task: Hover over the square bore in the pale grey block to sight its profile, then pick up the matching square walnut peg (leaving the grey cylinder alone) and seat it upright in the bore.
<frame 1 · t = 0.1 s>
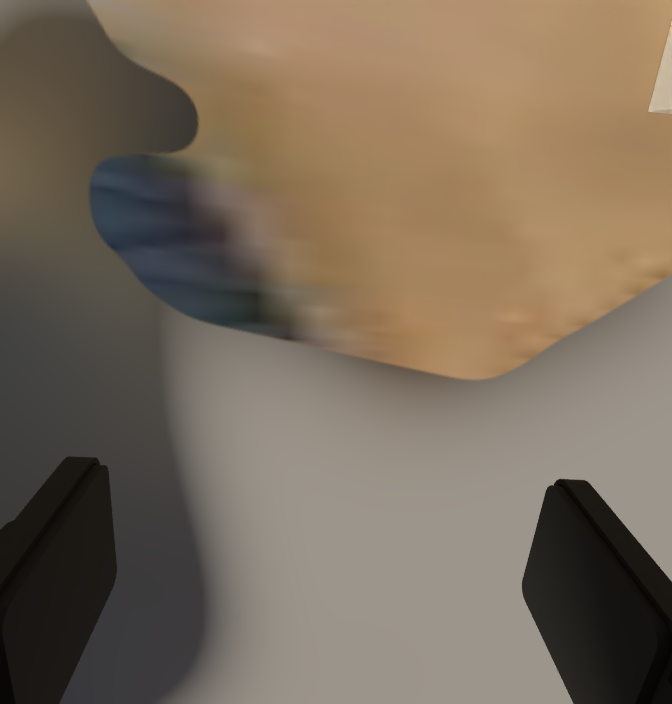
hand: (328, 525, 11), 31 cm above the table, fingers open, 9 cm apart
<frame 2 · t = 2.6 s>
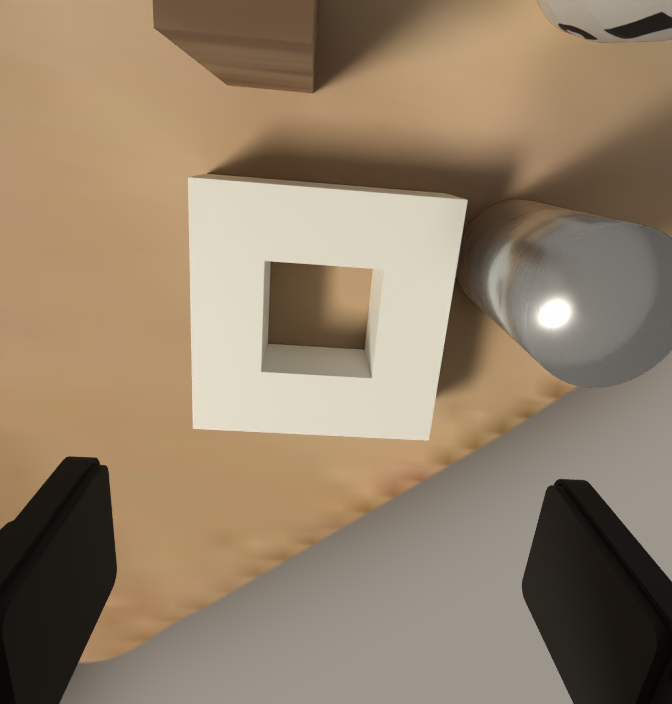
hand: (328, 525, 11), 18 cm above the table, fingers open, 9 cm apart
walnut peg: (272, 40, 24), on the table
bore block: (319, 299, 28), on the table
grey cylinder: (511, 257, 28), on the table
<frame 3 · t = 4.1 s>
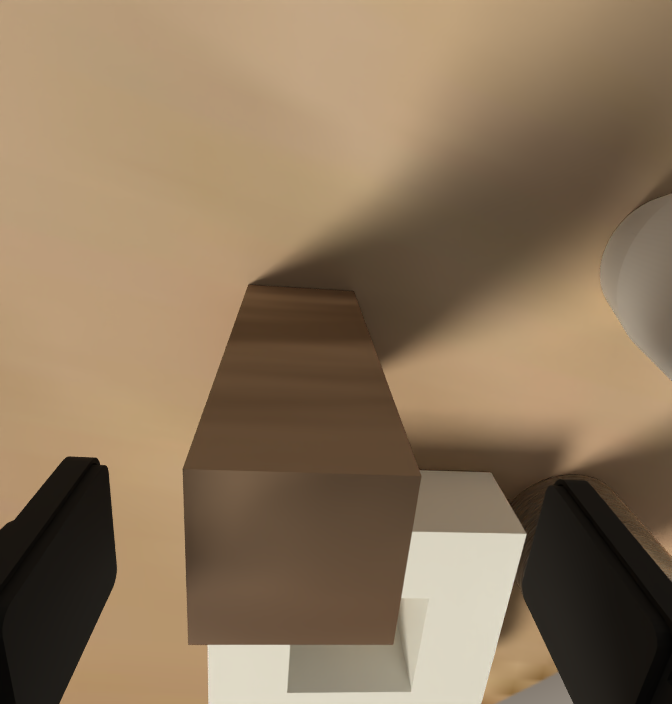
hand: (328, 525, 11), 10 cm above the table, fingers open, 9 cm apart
cup: (659, 259, 21), on the table
walnut peg: (298, 337, 21), on the table
bore block: (347, 573, 25), on the table
grey cylinder: (559, 527, 25), on the table
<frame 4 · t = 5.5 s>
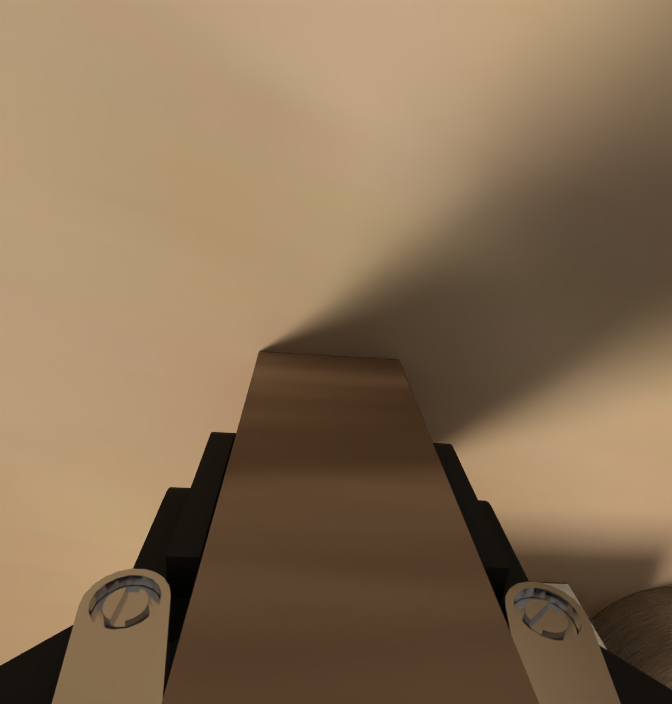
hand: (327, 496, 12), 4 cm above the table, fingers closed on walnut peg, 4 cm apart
walnut peg: (324, 417, 16), on the table, touching gripper
grey cylinder: (651, 648, 20), on the table
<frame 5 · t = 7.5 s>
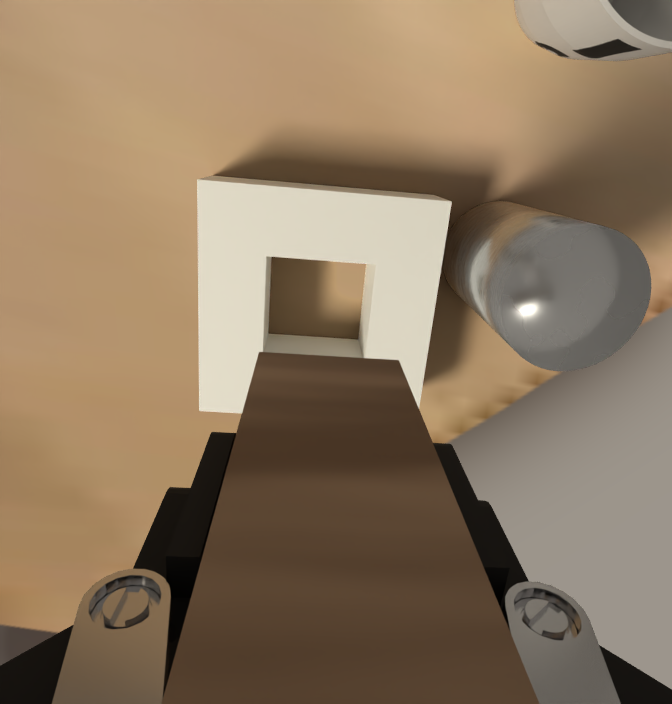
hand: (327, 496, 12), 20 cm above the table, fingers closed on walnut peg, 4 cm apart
walnut peg: (324, 418, 16), point 16 cm above the table, touching gripper
bore block: (316, 292, 30), on the table
grey cylinder: (493, 254, 30), on the table
when the fingers open (5 cm above the table, at t = 9.7 s): walnut peg stays where it is, resting in bore block.
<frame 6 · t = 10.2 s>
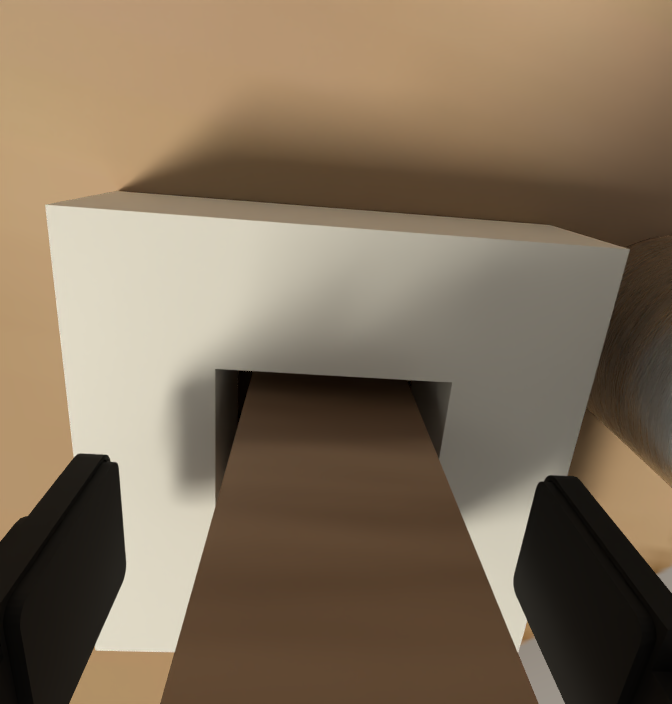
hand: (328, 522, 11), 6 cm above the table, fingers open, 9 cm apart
walnut peg: (322, 402, 17), resting in bore block
bore block: (323, 403, 17), on the table
grey cylinder: (653, 333, 16), on the table
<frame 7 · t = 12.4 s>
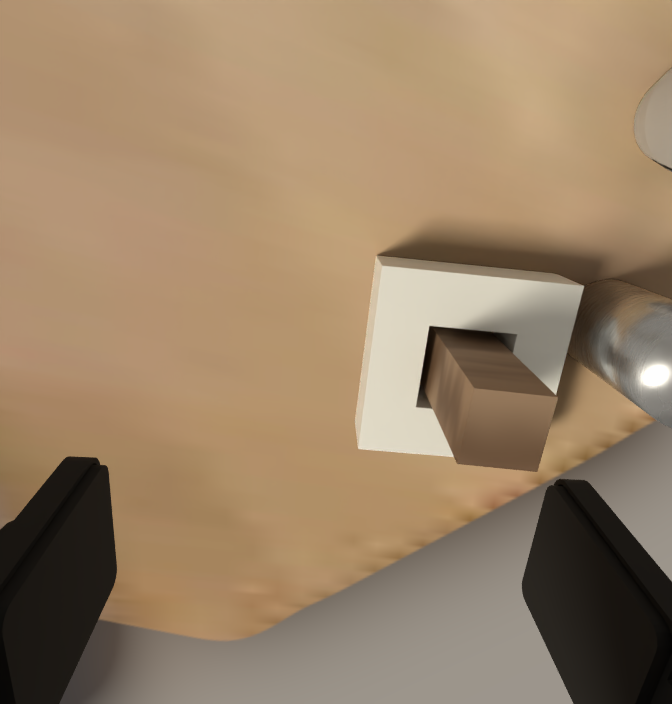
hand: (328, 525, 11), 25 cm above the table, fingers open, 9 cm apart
walnut peg: (450, 350, 36), resting in bore block
bore block: (450, 350, 36), on the table
grey cylinder: (602, 322, 36), on the table
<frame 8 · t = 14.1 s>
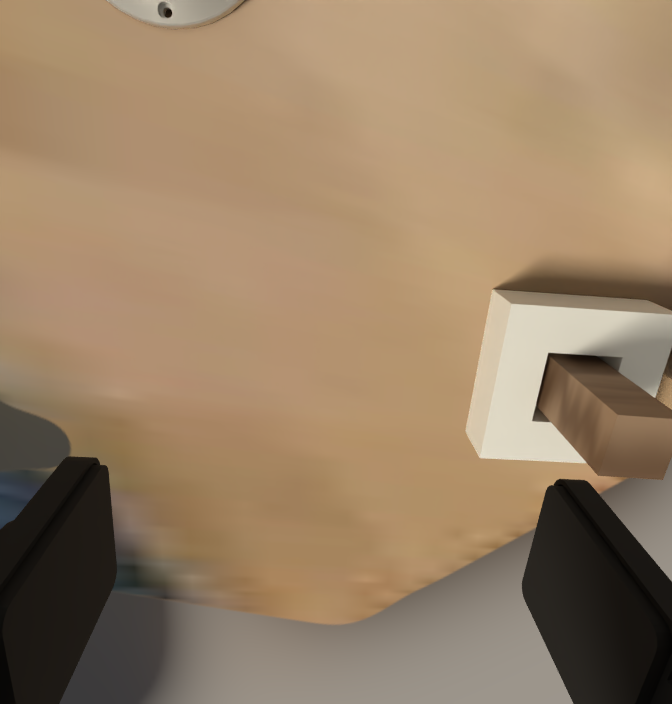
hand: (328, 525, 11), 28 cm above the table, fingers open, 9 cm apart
walnut peg: (552, 368, 41), resting in bore block
bore block: (552, 368, 41), on the table
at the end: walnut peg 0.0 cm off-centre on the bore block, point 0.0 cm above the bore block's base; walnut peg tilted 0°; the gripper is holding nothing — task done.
